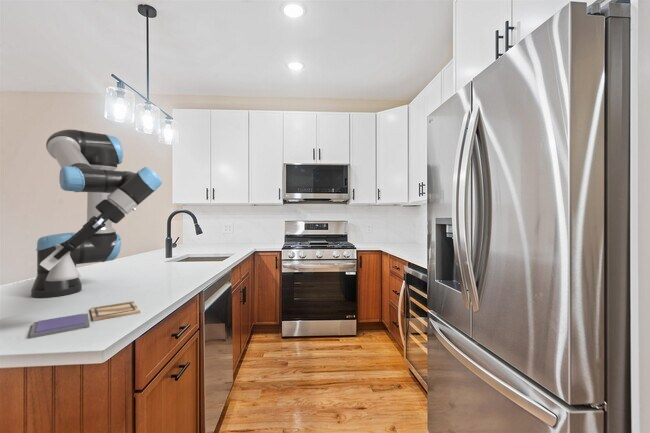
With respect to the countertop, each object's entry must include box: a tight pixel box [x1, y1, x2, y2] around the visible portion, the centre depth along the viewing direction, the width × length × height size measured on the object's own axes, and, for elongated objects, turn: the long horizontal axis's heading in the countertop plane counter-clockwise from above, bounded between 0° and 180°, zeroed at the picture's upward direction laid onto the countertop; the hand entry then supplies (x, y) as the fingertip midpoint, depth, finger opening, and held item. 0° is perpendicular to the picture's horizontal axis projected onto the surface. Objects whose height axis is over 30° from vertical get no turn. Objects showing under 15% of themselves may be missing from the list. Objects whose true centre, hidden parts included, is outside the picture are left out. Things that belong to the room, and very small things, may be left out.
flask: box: [46, 244, 82, 281], centre depth 88 cm, size 7×7×10 cm
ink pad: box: [29, 313, 91, 339], centre depth 86 cm, size 12×12×1 cm
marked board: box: [90, 300, 141, 322], centre depth 99 cm, size 14×12×1 cm
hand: (44, 266), depth 85 cm, fingers closed on flask, 3 cm apart
